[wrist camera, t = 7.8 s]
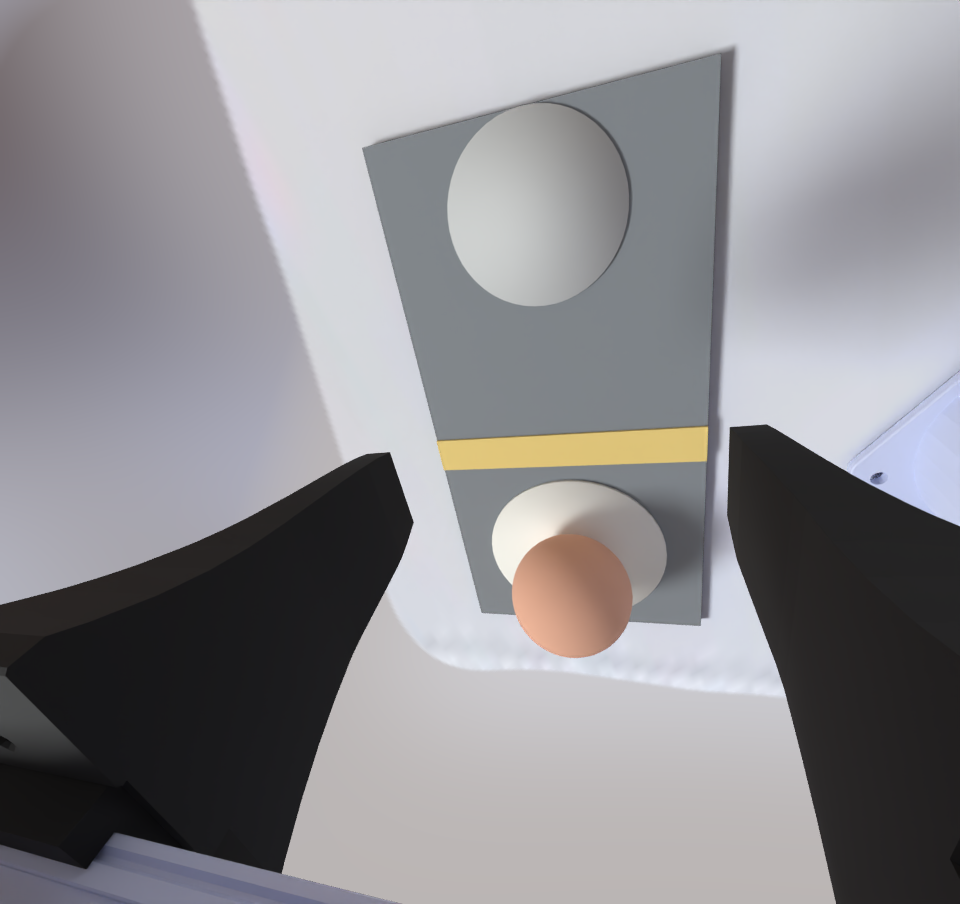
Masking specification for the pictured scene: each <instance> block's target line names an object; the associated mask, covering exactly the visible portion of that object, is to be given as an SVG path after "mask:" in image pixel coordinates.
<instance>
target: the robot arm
mask: <svg viewBox="0 0 960 904" xmlns="http://www.w3.org/2000/svg"><path fill="white" fill-rule="evenodd" d="M847 470H848V472H846V471H845V470H843V469H841V468H839V467H838V466H836V465H834V464H833V463H831V462H829V461H827V460H826V459H824V458H822V457H821V456H819V455H817V454H816V453H814V452H812V451H811V450H809V449H807V448H806V447H804V446H802V445H801V444H799V443H797V442H796V441H794V440H793V439H791V438H789V437H788V436H786V435H784V434H783V433H781V432H779V431H778V430H776V429H774V428H772V427H770V426H768V425H754V426H741V427H730V439H729V474H728V508H727V516H728V521H729V526H730V530H731V535H732V540H733V544H734V549H735V553H736V557H737V561H738V564H739V566H740V569H741V572H742V575H743V577H744V580H745V583H746V585H747V588H748V591H749V593H750V596H751V599H752V601H753V604H754V607H755V609H756V612H757V615H758V617H759V620H760V623H761V625H762V628H763V631H764V633H765V636H766V639H767V641H768V644H769V647H770V649H771V652H772V655H773V657H774V660H775V663H776V665H777V668H778V671H779V675H780V678H781V681H782V684H783V687H784V690H785V694H786V697H787V701H788V705H789V709H790V713H791V717H792V720H793V724H794V728H795V732H796V736H797V740H798V744H799V748H800V752H801V756H802V760H803V764H804V768H805V772H806V776H807V780H808V784H809V788H810V793H811V797H812V801H813V805H814V809H815V813H816V817H817V821H818V826H819V830H820V834H821V839H822V843H823V848H824V852H825V856H826V861H827V865H828V870H829V874H830V878H831V883H832V887H833V891H834V896H835V900H836V904H960V371H959V372H958V373H956V374H955V375H954V376H953V377H952V378H950V379H949V380H948V381H947V382H946V383H944V384H943V385H942V386H941V387H940V388H938V389H937V390H936V391H935V392H934V393H932V394H931V395H930V396H929V397H927V398H926V399H925V400H924V401H923V402H921V403H920V404H919V405H918V406H917V407H915V408H914V409H913V410H912V411H911V412H909V413H908V414H907V415H906V416H905V417H903V418H902V419H901V420H900V421H898V422H897V423H896V424H895V425H894V426H892V427H891V428H890V429H889V430H888V431H886V432H885V433H884V434H883V435H882V436H880V437H879V438H878V439H877V440H876V441H874V442H873V443H872V444H871V445H869V446H868V447H867V448H866V449H865V450H863V451H862V452H861V453H860V454H859V455H857V456H856V457H855V458H854V459H853V460H852V461H851V462H850V463H849V464H848V467H847ZM880 472H882V473H883V474H882V475H881V476H880V477H878V478H875V479H870V478H871V476H872V475H874V474H876V473H880ZM413 523H414V522H413V519H412V516H411V513H410V510H409V507H408V504H407V502H406V499H405V496H404V493H403V490H402V487H401V484H400V481H399V478H398V475H397V472H396V469H395V466H394V463H393V460H392V457H391V454H390V452H387V453H374V454H366V455H363V456H361V457H358V458H356V459H354V460H352V461H350V462H348V463H346V464H344V465H342V466H340V467H338V468H336V469H335V470H333V471H331V472H330V473H328V474H326V475H324V476H322V477H320V478H319V479H317V480H315V481H313V482H312V483H310V484H308V485H307V486H305V487H303V488H301V489H299V490H298V491H296V492H294V493H293V494H291V495H289V496H287V497H286V498H284V499H282V500H280V501H278V502H276V503H274V504H272V505H271V506H269V507H267V508H265V509H263V510H261V511H259V512H258V513H256V514H254V515H252V516H250V517H248V518H246V519H244V520H242V521H240V522H238V523H236V524H234V525H232V526H230V527H228V528H226V529H224V530H222V531H220V532H217V533H215V534H213V535H211V536H209V537H206V538H204V539H202V540H200V541H197V542H195V543H193V544H190V545H188V546H185V547H183V548H180V549H178V550H175V551H172V552H170V553H167V554H164V555H162V556H160V557H157V558H154V559H152V560H149V561H147V562H144V563H141V564H139V565H136V566H133V567H130V568H127V569H124V570H121V571H118V572H115V573H112V574H109V575H106V576H103V577H100V578H97V579H93V580H90V581H87V582H83V583H80V584H77V585H74V586H70V587H67V588H63V589H60V590H56V591H53V592H49V593H45V594H41V595H37V596H33V597H30V598H25V599H22V600H18V601H14V602H10V603H6V604H2V605H0V904H400V903H397V902H392V901H388V900H384V899H380V898H376V897H372V896H368V895H364V894H360V893H356V892H352V891H348V890H344V889H340V888H336V887H332V886H328V885H324V884H320V883H316V882H312V881H308V880H304V879H300V878H296V877H292V876H288V875H284V874H282V870H283V866H284V862H285V858H286V854H287V851H288V847H289V843H290V840H291V836H292V832H293V829H294V825H295V821H296V818H297V814H298V811H299V807H300V803H301V800H302V796H303V793H304V790H305V787H306V784H307V781H308V777H309V774H310V771H311V768H312V765H313V762H314V758H315V755H316V752H317V749H318V745H319V743H320V740H321V737H322V734H323V732H324V729H325V726H326V723H327V720H328V717H329V715H330V712H331V709H332V706H333V703H334V701H335V698H336V695H337V693H338V690H339V688H340V685H341V683H342V680H343V677H344V675H345V672H346V670H347V667H348V664H349V662H350V660H351V657H352V655H353V653H354V651H355V649H356V646H357V644H358V642H359V640H360V638H361V636H362V634H363V632H364V630H365V629H366V627H367V625H368V623H369V621H370V619H371V617H372V615H373V613H374V611H375V609H376V607H377V606H378V604H379V602H380V600H381V598H382V596H383V594H384V592H385V590H386V588H387V586H388V584H389V582H390V581H391V579H392V577H393V575H394V573H395V571H396V569H397V567H398V565H399V563H400V560H401V558H402V556H403V553H404V550H405V547H406V545H407V542H408V539H409V535H410V532H411V529H412V526H413Z"/></svg>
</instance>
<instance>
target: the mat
mask: <svg viewBox="0 0 960 904" xmlns="http://www.w3.org/2000/svg"><path fill="white" fill-rule="evenodd" d="M720 72H721V53H720V54H716V55H713V56H709V57H705V58H701V59H697V60H694V61H690V62H686V63H682V64H678V65H675V66H671V67H667V68H663V69H660V70H656V71H652V72H648V73H644V74H641V75H637V76H633V77H629V78H625V79H622V80H618V81H614V82H610V83H606V84H603V85H599V86H595V87H591V88H588V89H584V90H580V91H576V92H572V93H569V94H565V95H561V96H557V97H553V98H550V99H546V100H542V101H538V102H534V103H531V104H527V105H521V106H518V107H515V108H512V109H508V110H504V111H500V112H497V113H493V114H489V115H485V116H481V117H478V118H474V119H470V120H466V121H462V122H459V123H455V124H451V125H447V126H443V127H440V128H436V129H432V130H428V131H425V132H421V133H417V134H413V135H409V136H406V137H402V138H398V139H394V140H390V141H387V142H383V143H379V144H375V145H371V146H368V147H364V148H362V150H363V153H364V157H365V161H366V165H367V169H368V173H369V177H370V181H371V185H372V188H373V192H374V196H375V200H376V204H377V208H378V212H379V216H380V220H381V223H382V227H383V231H384V235H385V239H386V243H387V247H388V251H389V254H390V258H391V262H392V266H393V270H394V274H395V278H396V282H397V286H398V289H399V293H400V297H401V301H402V305H403V309H404V313H405V317H406V321H407V324H408V328H409V332H410V336H411V340H412V344H413V348H414V352H415V356H416V359H417V363H418V367H419V371H420V375H421V379H422V383H423V387H424V391H425V394H426V398H427V402H428V406H429V410H430V414H431V418H432V422H433V425H434V429H435V433H436V437H437V445H438V449H439V453H440V456H441V460H442V464H443V468H444V470H445V472H446V476H447V480H448V484H449V488H450V492H451V495H452V499H453V503H454V507H455V511H456V515H457V519H458V523H459V527H460V530H461V534H462V538H463V542H464V546H465V550H466V554H467V558H468V561H469V565H470V569H471V573H472V577H473V581H474V585H475V589H476V593H477V596H478V600H479V604H480V608H481V612H482V613H492V614H509V615H516V614H515V610H514V606H513V601H512V584H511V583H510V582H509V581H508V580H507V579H506V578H505V576H504V575H503V573H502V572H501V570H500V569H499V567H498V565H497V563H496V560H495V557H494V554H493V548H492V534H493V529H494V525H495V523H496V520H497V517H498V516H499V514H500V512H501V511H502V509H503V508H504V507H505V506H506V504H507V503H508V502H509V501H510V500H512V499H513V498H514V497H515V496H516V495H518V494H520V493H521V492H523V491H524V490H527V489H529V488H531V487H533V486H536V485H539V484H542V483H546V482H551V481H558V480H582V481H590V482H595V483H599V484H603V485H606V486H609V487H611V488H614V489H616V490H618V491H620V492H622V493H624V494H627V495H628V496H630V497H631V498H633V499H634V500H636V501H637V502H638V503H639V504H641V505H642V506H643V507H644V508H645V509H646V510H647V511H648V512H649V513H650V514H651V515H652V516H653V518H654V519H655V521H656V522H657V524H658V525H659V527H660V529H661V531H662V533H663V536H664V540H665V543H666V551H667V561H666V567H665V571H664V574H663V576H662V578H661V581H660V582H659V584H658V585H657V586H656V588H655V589H654V590H653V591H652V592H651V593H650V594H649V595H648V596H647V597H646V598H644V599H643V600H642V601H640V602H638V603H637V604H635V605H633V606H632V611H631V615H630V619H629V621H628V622H644V623H660V624H677V625H694V626H701V601H702V573H703V546H704V518H705V490H706V462H707V446H708V406H709V378H710V350H711V323H712V295H713V267H714V239H715V211H716V183H717V155H718V128H719V100H720Z"/></svg>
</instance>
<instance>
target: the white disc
mask: <svg viewBox="0 0 960 904" xmlns="http://www.w3.org/2000/svg"><path fill="white" fill-rule="evenodd" d="M562 534H576V535H582V536H586V537H589V538H592V539H594V540H596V541H598V542H600V543H601V544H603V545H605V546H606V547H607V548H608V549H610V550H611V551H612V552H613V553H614V554H615V555H616V556H617V557H618V559H619V560H620V561H621V563H622V564H623V566H624V568H625V570H626V572H627V574H628V577H629V580H630V583H631V587H632V595H633V602H632V606H633V605H635V604H637V603H638V602H640V601H642V600H643V599H644V598H646V597H647V596H648V595H649V594H650V593H651V592H652V591H653V590H654V589H655V588H656V586H657V585H658V584H659V582H660V581H661V578H662V576H663V574H664V571H665V567H666V561H667V551H666V543H665V540H664V536H663V533H662V531H661V529H660V527H659V525H658V524H657V522H656V521H655V519H654V518H653V516H652V515H651V514H650V513H649V512H648V511H647V510H646V509H645V508H644V507H643V506H642V505H641V504H639V503H638V502H637V501H636V500H634V499H633V498H631V497H630V496H628V495H627V494H624V493H622V492H620V491H618V490H616V489H614V488H611V487H609V486H606V485H603V484H599V483H595V482H590V481H582V480H558V481H551V482H546V483H542V484H539V485H536V486H533V487H531V488H529V489H527V490H524V491H523V492H521V493H520V494H518V495H516V496H515V497H514V498H513V499H512V500H510V501H509V502H508V503H507V504H506V506H505V507H504V508H503V509H502V511H501V512H500V514H499V516H498V517H497V520H496V523H495V525H494V529H493V534H492V548H493V554H494V557H495V560H496V563H497V565H498V567H499V569H500V570H501V572H502V573H503V575H504V576H505V578H506V579H507V580H508V581H509V582H510V583H511V584H512V585H513V579H514V575H515V572H516V569H517V567H518V565H519V563H520V562H521V560H522V558H523V557H524V556H525V555H526V553H527V552H528V551H529V550H530V549H531V548H532V547H534V546H535V545H536V544H538V543H539V542H541V541H543V540H545V539H547V538H550V537H553V536H556V535H562Z"/></svg>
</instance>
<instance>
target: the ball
mask: <svg viewBox="0 0 960 904" xmlns="http://www.w3.org/2000/svg"><path fill="white" fill-rule="evenodd" d="M512 601H513V606H514V610H515V614H516V616H517V619H518V621H519V623H520V625H521V626H522V628H523V630H524V631H525V633H526V634H527V635H528V636H529V637H530V638H531V639H532V640H533V641H534V642H535V643H536V644H537V645H539V646H540V647H542V648H543V649H545V650H547V651H549V652H551V653H553V654H556V655H559V656H563V657H569V658H581V657H587V656H592V655H595V654H597V653H599V652H601V651H603V650H605V649H607V648H608V647H610V646H611V645H612V644H613V643H614V642H615V641H616V640H617V639H618V638H619V637H620V636H621V634H622V633H623V631H624V630H625V628H626V626H627V624H628V621H629V619H630V615H631V611H632V602H633V595H632V587H631V583H630V580H629V577H628V574H627V572H626V570H625V568H624V566H623V564H622V563H621V561H620V560H619V559H618V557H617V556H616V555H615V554H614V553H613V552H612V551H611V550H610V549H608V548H607V547H606V546H605V545H603V544H601V543H600V542H598V541H596V540H594V539H592V538H589V537H586V536H582V535H576V534H562V535H556V536H553V537H550V538H547V539H545V540H543V541H541V542H539V543H538V544H536V545H535V546H534V547H532V548H531V549H530V550H529V551H528V552H527V553H526V555H525V556H524V557H523V558H522V560H521V562H520V563H519V565H518V567H517V569H516V572H515V575H514V579H513V585H512Z"/></svg>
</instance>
